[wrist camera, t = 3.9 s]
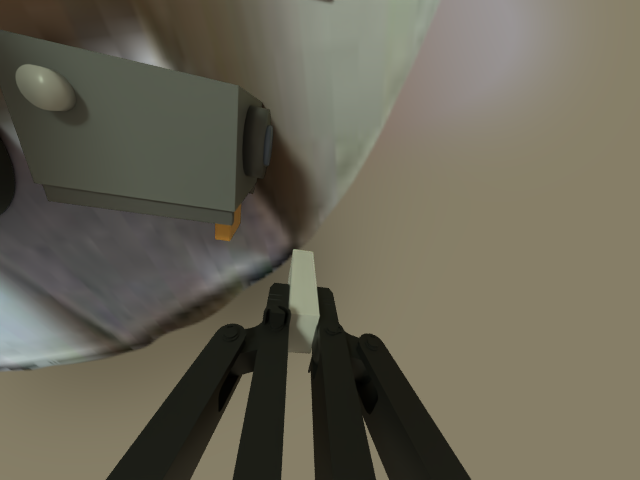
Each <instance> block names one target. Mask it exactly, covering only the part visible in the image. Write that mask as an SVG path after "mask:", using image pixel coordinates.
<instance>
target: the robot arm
mask: <svg viewBox="0 0 640 480" xmlns="http://www.w3.org/2000/svg"><path fill="white" fill-rule="evenodd" d="M14 189H15V178H14V171H13V167H12V164H11V161H10V158H9V156H8V153H7V151H6V149H5V147H4V145H3V143H2V141H1V140H0V215H1V214H2V213H3V212H4V211H5V210H6V209H7V207H8V206H9V204H10V203H11V200H12V198H13V195H14ZM311 348H312V358H311V362H310V366H309V370H308V373H309V372H310V371H311V388H312V389H311V390H312V412H313V413H312V414H313V438H314V439H313V440H314V463H315V480H376V478H375V473H374V468H373V463H372V459H371V454H370V449H369V445H368V440H367V436H366V431H365V426H364V422H363V418H364V421H365V422H366V425H367V428H368V430H369V433H370V435H371V437H372V440H373V442H374V444H375V447H376V449H377V451H378V454H379V456H380V459H381V461H382V464H383V466H384V468H385V471H386V473H387V475H388V478H389V480H471V479H470V477H469V475H468V474H467V472H466V471H465V470H464V468H463V466H462V464H461V463H460V462H459V460H458V458H457V457H456V455H455V454H454V452H453V451H452V449H451V447H450V446H449V444H448V443H447V441H446V440H445V438H444V437H443V435H442V433H441V432H440V430H439V429H438V427H437V426H436V424H435V423H434V421H433V419H432V418H431V416H430V415H429V414H428V412H427V410H426V409H425V407H424V406H423V404H422V403H421V401H420V400H419V398H418V396H417V395H416V393H415V391H414V390H413V388H412V387H411V385H410V384H409V382H408V381H407V379H406V378H405V376H404V374H403V373H402V371H401V370H400V368H399V367H398V365H397V363H396V362H395V360H394V359H393V357H392V356H391V354H390V353H389V351H388V349H387V348H386V347H385V345H384V343H383V342H382V341H381V340H380V339H379V338H378V337H377V336H375V335H373V334H363V335H361V337H360V338H358V337H355V336H352V335H350V334H348V333H346V332H345V331H344V330H343V328H342V326H341V325H340V324H339V322H338V317H337V312H336V307H335V301H334V297H333V293H332V292H331V291H330V289H329V288H323V287H317V286H316V277H315V266H314V258H313V252H312V251H304V250H297V249H293V254H292V260H291V266H290V273H289V280H288V284H281V283H274V284H273V285H272V286H271V287H270V292H269V297H268V302H267V307H266V309H265V311H264V315H263V321H262V323H260V324H259V325H258V326H256V327H253V328H249V329H244V328H243V327H242V326H240V325H238V324H227V325H225V326H223V327H221V328H220V329H219V330H218V331H217V332H216V333H215V334H214V336H213V337H212V338H211V340H210V341H209V343H208V344H207V345H206V346H205V348H204V349H203V350H202V352H201V353H200V355H199V356H198V357H197V359H196V360H195V361H194V363H193V364H192V365H191V367H190V368H189V369H188V371H187V372H186V373H185V375H184V376H183V377H182V379H181V380H180V381H179V383H178V384H177V385H176V387H175V388H174V389H173V391H172V392H171V393H170V395H169V396H168V397H167V399H166V400H165V401H164V403H163V404H162V405H161V407H160V408H159V409H158V411H157V412H156V413H155V415H154V416H153V417H152V419H151V420H150V421H149V423H148V424H147V426H146V427H145V428H144V430H143V431H142V432H141V434H140V435H139V436H138V438H137V439H136V440H135V441H134V443H133V444H132V445H131V447H130V448H129V449H128V451H127V452H126V454H125V455H124V456H123V457H122V459H121V460H120V461H119V463H118V464H117V465H116V467H115V468H114V470H113V471H112V472H111V473H110V475H109V476H108V478H107V479H106V480H190V479H191V477H192V475H193V473H194V471H195V469H196V467H197V465H198V463H199V461H200V459H201V457H202V455H203V453H204V451H205V449H206V447H207V445H208V442H209V441H210V439H211V437H212V435H213V433H214V431H215V429H216V427H217V425H218V423H219V421H220V419H221V417H222V415H223V413H224V411H225V409H226V407H227V405H228V403H229V401H230V399H231V396H232V395H233V392H234V391H235V389H236V386H237V384H238V383H239V381H240V378H241V376H242V374H246V373H249V372H253V377H252V382H251V387H250V392H249V398H248V402H247V408H246V413H245V418H244V423H243V429H242V434H241V439H240V444H239V449H238V454H237V460H236V465H235V470H234V476H233V480H281V471H282V452H283V433H284V413H285V396H286V377H287V358H288V352H295V353H310V352H311ZM362 416H363V417H362Z"/></svg>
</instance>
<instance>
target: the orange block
mask: <svg viewBox="0 0 640 480" xmlns="http://www.w3.org/2000/svg"><path fill="white" fill-rule="evenodd" d="M240 221H241V204H240V205H239V207H238V208H237V209H236V211H235V212H234V223H233V225H232V226H230V225H223V224H215V239H217V240H225V241H230V240H231V239H232V237H233V235H234V233H235V232H236V230H237V228H238V227H239V225H240Z"/></svg>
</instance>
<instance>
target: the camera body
mask: <svg viewBox="0 0 640 480" xmlns="http://www.w3.org/2000/svg"><path fill="white" fill-rule="evenodd" d="M0 87H1V90H2V93H3V95H4V98H5V101H6V104H7V107H8V110H9V112H10V115H11V118H12V121H13V124H14V127H15V129H16V132H17V135H18V138H19V141H20V144H21V147H22V149H23V152H24V155H25V158H26V161H27V164H28V166H29V169H30V172H31V175H32V178H33V181H34V183H38V184H43V187H44V190H45V193H46V196H47V199H48V201H52V202H59V203H67V204H74V205H82V206H89V207H97V208H104V209H111V210H119V211H126V212H134V213H141V214H149V215H156V216H163V217H171V218H178V219H186V220H193V221H201V222H208V223H215V224H223V225H230V226H232V225H233V223H234V212H235V211H236V209H237V208H238V207H239V205H240V204H241V203H242V201H243V200H244V199H245V197H246V196H247V194H248V193H251V194H253V193H254V185H255V183H256V182H257V178H261V179H263V178H264V176H265V172H266V168H267V166H269V163H270V158H271V151H272V141H273V126H271V114H270V110H269V109H266V108H262V102H261V101H260V100H258V99H257V98H255V97H254V96H252V95H251V94H250V93H248V92H247V91H245V90H244V89H243V88H241V87H240V86H238V85H234V84H230V83H225V82H221V81H217V80H212V79H208V78H204V77H200V76H195V75H191V74H187V73H183V72H178V71H174V70H170V69H165V68H161V67H157V66H153V65H148V64H144V63H140V62H136V61H131V60H127V59H123V58H118V57H114V56H110V55H106V54H101V53H97V52H93V51H89V50H84V49H80V48H76V47H72V46H67V45H63V44H59V43H54V42H50V41H46V40H42V39H37V38H33V37H29V36H25V35H20V34H16V33H12V32H7V31H3V30H0Z"/></svg>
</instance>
